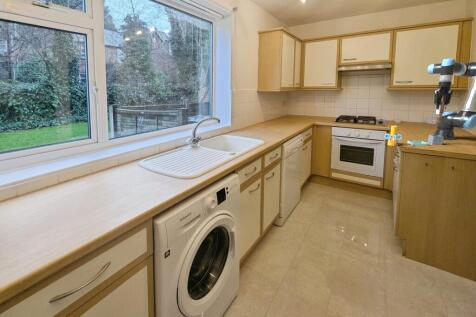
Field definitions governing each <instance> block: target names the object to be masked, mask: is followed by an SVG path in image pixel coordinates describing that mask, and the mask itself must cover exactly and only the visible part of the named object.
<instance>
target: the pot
mask: <svg viewBox="0 0 476 317" xmlns="http://www.w3.org/2000/svg"><path fill="white" fill-rule="evenodd" d="M443 138H444V136H440V135H434V134H428V139H427V143H429V145H431V146H443V144H444V139H443Z"/></svg>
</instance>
